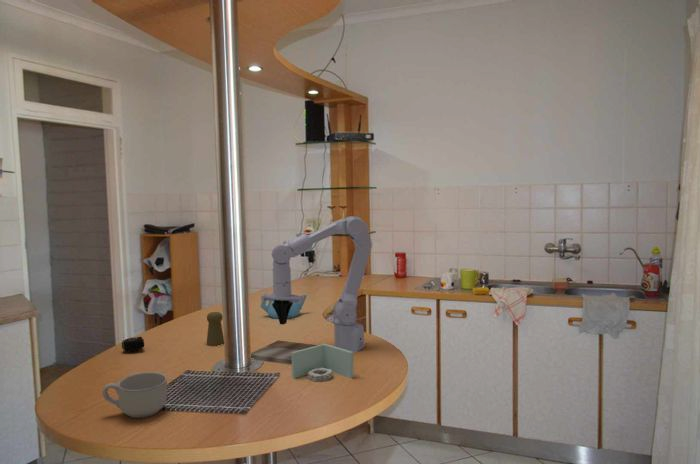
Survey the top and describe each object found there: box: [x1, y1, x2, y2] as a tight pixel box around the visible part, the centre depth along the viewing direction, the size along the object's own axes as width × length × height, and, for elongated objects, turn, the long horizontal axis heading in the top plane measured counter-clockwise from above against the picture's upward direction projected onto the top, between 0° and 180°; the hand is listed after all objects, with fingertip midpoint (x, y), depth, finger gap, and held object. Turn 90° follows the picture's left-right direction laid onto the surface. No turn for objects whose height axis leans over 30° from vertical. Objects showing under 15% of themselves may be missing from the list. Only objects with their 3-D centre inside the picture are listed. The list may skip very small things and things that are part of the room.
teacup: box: [102, 371, 168, 419], centre depth 120 cm, size 14×11×8 cm
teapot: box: [260, 293, 308, 320], centre depth 220 cm, size 15×15×11 cm
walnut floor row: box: [266, 340, 318, 350], centre depth 169 cm, size 18×7×2 cm, turn 66°
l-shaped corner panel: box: [291, 343, 354, 382], centre depth 141 cm, size 12×12×8 cm
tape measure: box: [121, 336, 145, 353], centre depth 170 cm, size 7×7×4 cm
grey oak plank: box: [250, 345, 298, 366], centre depth 161 cm, size 18×10×2 cm, turn 66°
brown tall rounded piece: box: [206, 311, 225, 347], centre depth 177 cm, size 6×6×11 cm
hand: (283, 323), depth 166 cm, fingers closed
